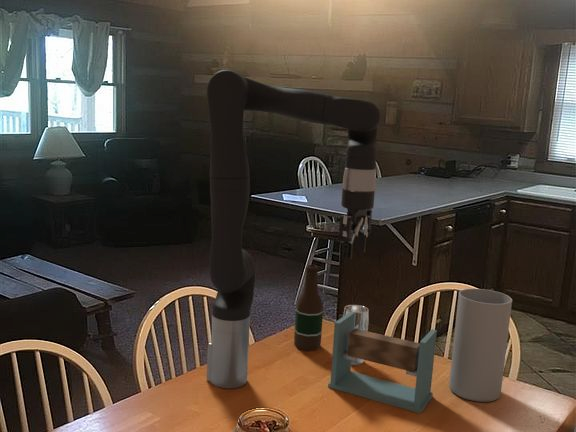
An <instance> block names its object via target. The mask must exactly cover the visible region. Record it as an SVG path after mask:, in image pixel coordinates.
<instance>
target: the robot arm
mask: <svg viewBox="0 0 576 432" xmlns="http://www.w3.org/2000/svg"><path fill="white" fill-rule="evenodd" d="M206 98H207V100H206V101H207V105H208V107H207V108H208V114H209V120H210V121H209V123H210V124H209V125H210V136H211V137H210V152H209V153H210V155H209V157H210V158H209V163H210V164H209V194H210V215H211V216H210V217H211V243H210V245H211V246H210V256H209V266H208V267H209V269H208V271H209V278H210V280H211V283H212V284H213V286H214V287H215V288H216V289H217V292H216V296H215V298H214V301H213V303H212V308H211V309H212V310H211V311H212V312H211V338H210V342H209V343H207V353H206V354H207V356H206V357H207V359H206V360H207V362H206V381H208V382H210V383H211V384H212V386H215V387H217V388H220V389H221V388H222V389H236V388H240V387H243V386H245V384H247V383H248V370H249V369H248V368H249V367H248V366H249V347H250V325H251V323H250V322H251V308H252V305H253V301H254V294H255V282H256V281H255V280H256V279H255V278H256V265H255V261H254V258H253V256H252V255H251V254H250V253H249V252H248V251H247V250H245V249H244V248H243V229H244V228H243V227H244V224H245V219H246V216H247V212H248V208H249V207H248V206H249V203H250V189H251V188H250V185H251V183H250V180H251V179H250V178H251V177H250V165H249V158H248V153H247V148H246V143H245V139H244V138H245V137H244V115H245V114H244V112H245V111H253V112H254V111H256V112H262V113H263V112H264V113H265V112H266V113H271V114H274V115H275V114H276V115H280V116H283V117H287V118H291V119H295V120H299V121H303V122H309V123H312V124H319V125H325V126H335V127H338V128H342V129H346V130H347V145H346V152H345V163H344V172H343V177H342V188H341V189H342V190H341V203H340V204H341V207H343V208H344V209H346V215H344V214H342V215H340V219H339V229H338V230H339V231H338V242H341V243H342V250H341V258H342V259H343V260H351V259H352V258H353V247H354V246H353V245H354V244H353V243H354V240H355V237H356V243H355V252H357V253H362V254H364V253H365V252H366V243H367V238H368V236H369V234H371V230H372V217H373V216H372V214H373V210H372V209H374V206H375V204H374V203H375V193H376V181H377V180H376V179H377V177H376V176H377V175H376V166H377V145H376V142H377V132H378V125H379V123H380V122H381V112H380V109H379V107H378V106H377V105H376V104H375V103H374V102H372V101H370V100H365V99H358V98H357V99H356V98H350V97H341V96H337V95H335V94H330V93H325V92H320V91H315V90H310V89H309V90H308V89H301V88H291V87H281V86H276V85H270V84H268V83H267V84H266V83H262V82H259V81H256V80H254V79H251V78H249V77H246V76H243V75H242V74H241V73H239V72H236V71H233V70H230V69H222V70H218V71H217V72H216V73H214V74H212V76H211V77H210V79H209V80H208V83H207V86H206Z"/></svg>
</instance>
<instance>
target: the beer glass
mask: <svg viewBox="0 0 576 432" xmlns="http://www.w3.org/2000/svg"><path fill="white" fill-rule="evenodd" d="M349 312H355V318H354V329H359V330H363V331H368V330H369V317H370V316H369V308H368V307H366V306H364V305H359V304H348V305H345V306H344V311H343V315H342V317H343V316H345V315H346V314H348V313H349ZM368 332H369V331H368ZM364 361H365V360H363V359H358V358H357V360H356V361H353V360H351V366H359V365H362V364H363V363H364Z"/></svg>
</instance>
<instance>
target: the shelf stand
mask: <svg viewBox="0 0 576 432" xmlns="http://www.w3.org/2000/svg"><path fill="white" fill-rule="evenodd" d="M354 318H355V312H349V313H348V314H346V315H345V316H343V315H342V317H341V318H339V319H338V320H336V321H335V322H334V330H333V341H332V342H333V343H332V357H331V370H330V371H331V373H330V381H328V383H327V387H328V388H330V389H333V390H336V391H340V392H343V393H348V394H351V395H355V396H357V395H358V397H361V396H362V398H365V399H368V400H371V401H372V400H373V401H376V402H380V403H383V404H386V405H391V406H393V407H398V408H401V409H404V410H408V411H411V412H415V413H418V414H422V412H423V411H424V409H425V408H426V407H427V405H428V404H429V403H430V401H431V400H432V399H433V397H434V393H433V392H431V391H432V381H433V372H434V363H435V352H436V351H435V350H436V343H437V342H436V341H437V333H438V332H437V329H432V328H431V329H430V331H429V332H428V333H426V334H425V336H424V337H423V338H422V339H421V340H420V342H419V343H420V347H419V357H418V368H417V370H416V371H415V372H411V371H407V370H405V375H408V376H413V377H416V379H415V387H411V386H407V385H406V384H405V385H403V384H399V383H396V382H393V381H389V380H385V379H381V378H378V377H373V376H370V375H366V374H364V373H363V374H362V373H359V372H355V371H352V370H351V367H352V365H351V360H353V361H356V360H357V358H355V357H351V356H348V346H349V333H350V332H351V331H352V330H354ZM358 359H359V358H358Z"/></svg>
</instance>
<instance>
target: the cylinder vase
mask: <svg viewBox="0 0 576 432" xmlns="http://www.w3.org/2000/svg"><path fill="white" fill-rule="evenodd" d="M457 298H458V299H457V305H456V308H457V309H456V316H455V317H456V319H455V324H454V326H455V327H454V334H453V345H452V354H451V363H450V364H451V365H450V372H449V383H448V385H449V389H450V390H451V392H453V393H454V394H455V395H456V396H458V397H460V398H462V399H465V400H468V401H472V402H478V403H489V402H494V401H496V400H498V399H499V398H500V397H501V394H502V387H503V385H502V384H503V381H504V380H503V379H504V373H505V372H504V369H505V362H506V355H507V347H508V338H509V337H508V336H509V330H510V322H511V313H512V305H513V298H511V297H510V296H509V295H507V294H505V293H502V292H500V291H495V290H491V289H486V288H483V289H482V288H464V289H461V290H459V291H458V297H457Z"/></svg>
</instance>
